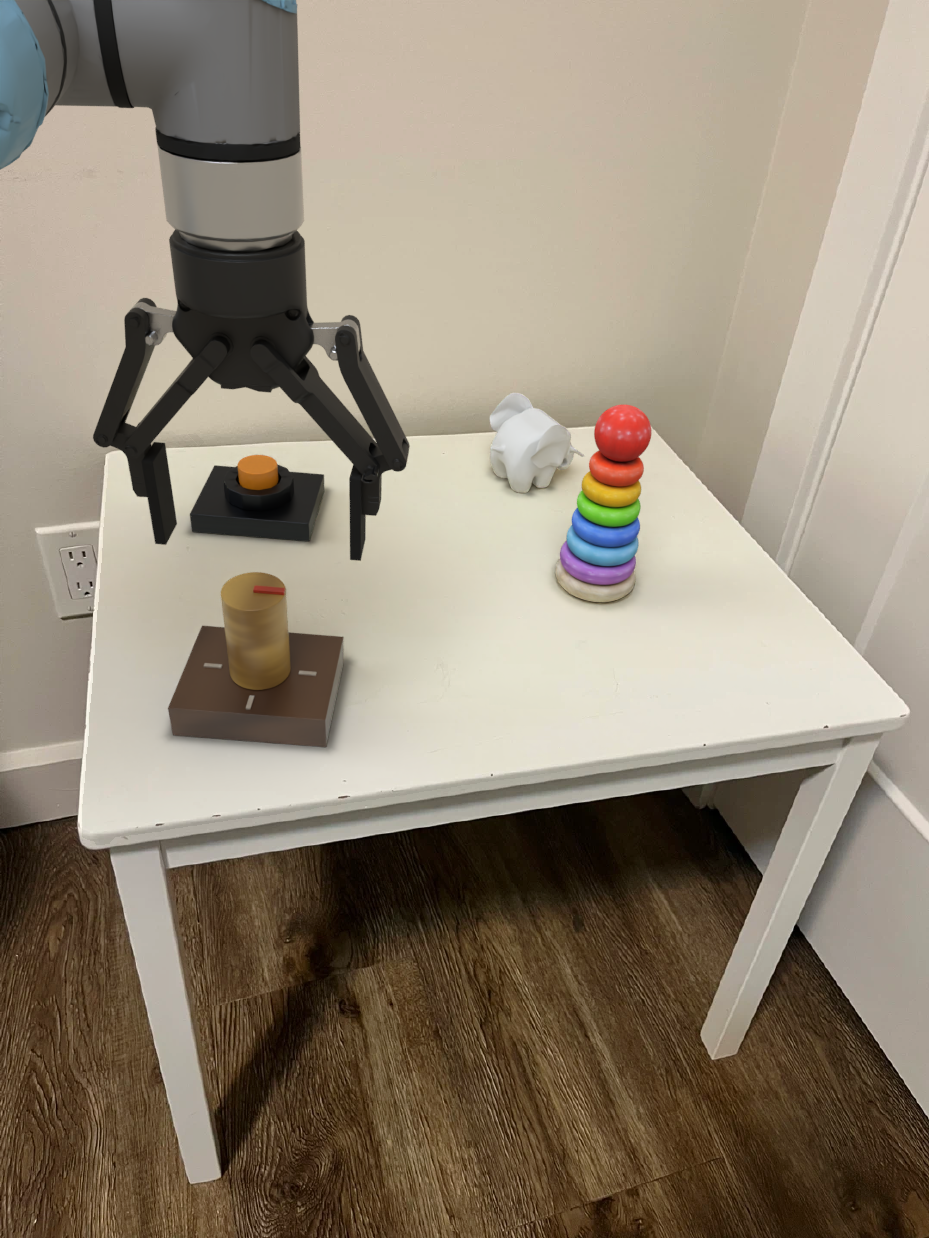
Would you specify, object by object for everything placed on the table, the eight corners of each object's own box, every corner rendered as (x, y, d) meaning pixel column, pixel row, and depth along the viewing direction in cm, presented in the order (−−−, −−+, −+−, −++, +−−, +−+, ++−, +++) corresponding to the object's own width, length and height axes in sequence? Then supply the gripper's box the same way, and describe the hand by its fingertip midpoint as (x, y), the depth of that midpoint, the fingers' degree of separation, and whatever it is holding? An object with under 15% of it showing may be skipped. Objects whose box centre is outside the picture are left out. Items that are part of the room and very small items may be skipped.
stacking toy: (649, 591, 91) (693, 419, 79) (589, 615, 87) (625, 439, 75) (597, 551, 96) (632, 384, 84) (538, 572, 92) (565, 400, 80)
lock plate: (172, 735, 71) (167, 706, 69) (205, 651, 79) (201, 623, 77) (326, 747, 71) (325, 718, 69) (343, 662, 79) (343, 635, 77)
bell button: (235, 489, 93) (233, 472, 92) (243, 470, 96) (242, 453, 95) (274, 492, 93) (273, 475, 92) (281, 473, 96) (280, 456, 95)
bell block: (191, 532, 93) (187, 498, 90) (216, 482, 101) (212, 450, 98) (309, 541, 93) (308, 508, 91) (324, 491, 101) (323, 459, 98)
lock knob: (223, 687, 71) (212, 604, 66) (237, 648, 75) (228, 566, 70) (284, 692, 71) (279, 609, 66) (295, 652, 75) (291, 571, 70)
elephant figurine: (595, 486, 106) (608, 416, 101) (508, 507, 101) (517, 435, 96) (549, 449, 113) (559, 381, 107) (465, 467, 107) (471, 397, 102)
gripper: (460, 229, 55) (440, 527, 68) (41, 193, 54) (104, 499, 67) (454, 270, 49) (434, 587, 62) (-15, 229, 48) (65, 557, 62)
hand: (262, 542), depth 65 cm, fingers open, 13 cm apart
